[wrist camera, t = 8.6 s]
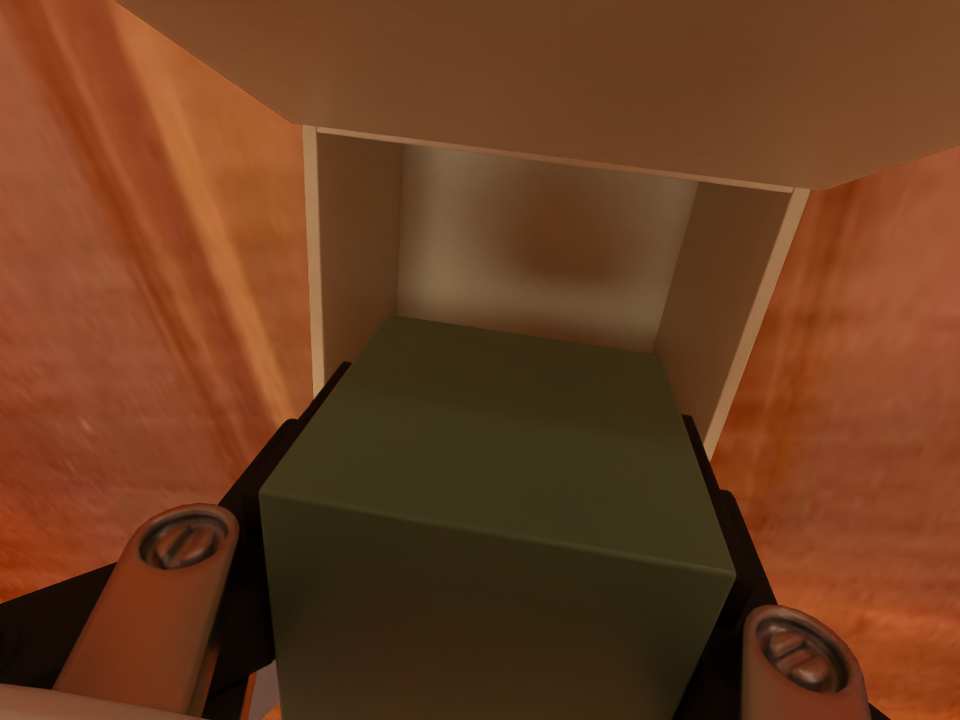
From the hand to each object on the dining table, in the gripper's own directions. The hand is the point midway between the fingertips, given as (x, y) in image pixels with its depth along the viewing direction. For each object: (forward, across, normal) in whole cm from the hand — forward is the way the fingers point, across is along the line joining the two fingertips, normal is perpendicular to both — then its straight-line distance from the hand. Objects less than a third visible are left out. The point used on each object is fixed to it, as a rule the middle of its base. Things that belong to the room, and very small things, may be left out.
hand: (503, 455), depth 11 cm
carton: (+16, 0, +3) cm, 16 cm away
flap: (+1, 0, -6) cm, 6 cm away
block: (0, 0, 0) cm, 0 cm away
